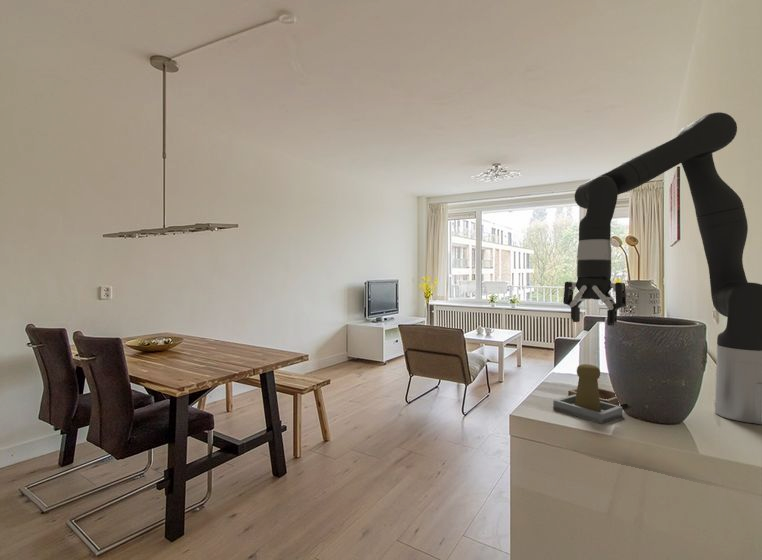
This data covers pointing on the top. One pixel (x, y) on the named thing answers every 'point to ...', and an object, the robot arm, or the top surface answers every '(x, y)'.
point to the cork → (588, 387)
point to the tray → (588, 410)
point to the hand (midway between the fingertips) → (592, 323)
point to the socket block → (602, 396)
